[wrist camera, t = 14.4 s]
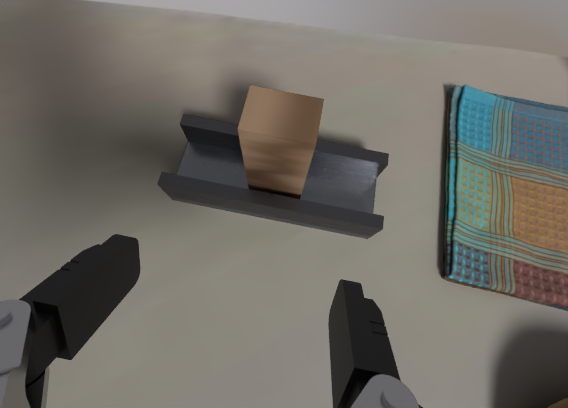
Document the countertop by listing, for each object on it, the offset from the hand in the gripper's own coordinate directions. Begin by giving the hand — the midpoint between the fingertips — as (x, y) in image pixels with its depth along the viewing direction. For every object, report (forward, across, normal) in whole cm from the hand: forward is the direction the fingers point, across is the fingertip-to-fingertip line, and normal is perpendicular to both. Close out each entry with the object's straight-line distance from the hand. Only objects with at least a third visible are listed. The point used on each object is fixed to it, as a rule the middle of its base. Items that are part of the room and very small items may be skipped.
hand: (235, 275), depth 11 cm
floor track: (+19, 0, +4) cm, 19 cm away
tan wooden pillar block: (+18, 0, +3) cm, 18 cm away
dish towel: (+23, -26, +1) cm, 35 cm away
